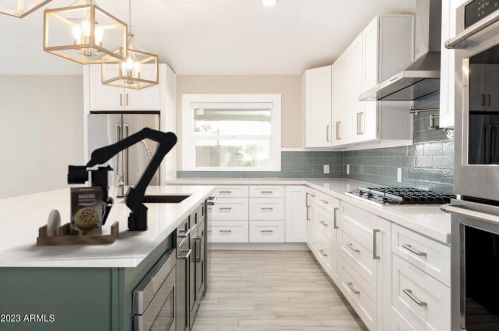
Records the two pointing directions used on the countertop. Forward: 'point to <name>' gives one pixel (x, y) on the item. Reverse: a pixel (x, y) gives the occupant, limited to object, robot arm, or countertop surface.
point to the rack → (61, 234)
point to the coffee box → (85, 211)
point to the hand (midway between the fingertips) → (100, 227)
